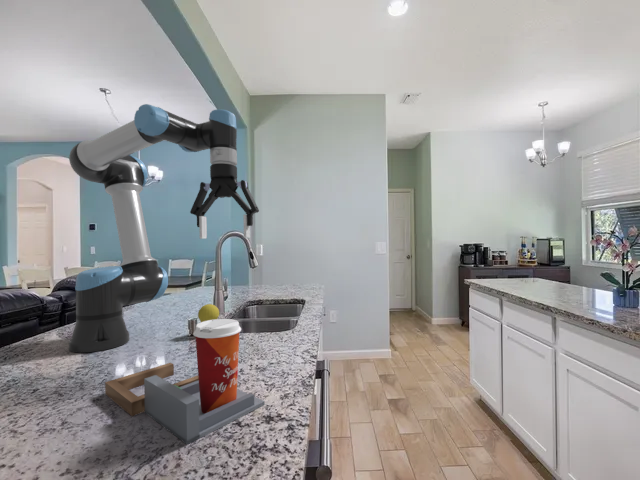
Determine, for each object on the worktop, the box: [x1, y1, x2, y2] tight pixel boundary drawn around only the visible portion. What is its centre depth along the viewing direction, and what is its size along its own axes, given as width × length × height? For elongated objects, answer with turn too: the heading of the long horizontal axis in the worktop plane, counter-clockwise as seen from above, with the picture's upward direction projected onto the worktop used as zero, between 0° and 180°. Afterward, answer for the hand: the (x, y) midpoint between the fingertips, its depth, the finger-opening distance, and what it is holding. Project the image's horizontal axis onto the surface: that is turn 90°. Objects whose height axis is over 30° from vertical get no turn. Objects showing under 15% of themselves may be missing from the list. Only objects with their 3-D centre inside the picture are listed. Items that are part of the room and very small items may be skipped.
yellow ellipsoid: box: [197, 303, 220, 323], centre depth 106 cm, size 7×7×10 cm
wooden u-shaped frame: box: [104, 362, 199, 417], centre depth 65 cm, size 13×14×2 cm
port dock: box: [143, 375, 266, 446], centre depth 58 cm, size 15×15×6 cm
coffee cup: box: [192, 318, 242, 414], centre depth 57 cm, size 8×8×15 cm
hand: (224, 238), depth 93 cm, fingers open, 13 cm apart
